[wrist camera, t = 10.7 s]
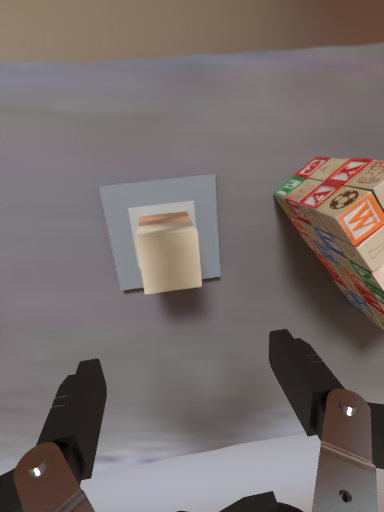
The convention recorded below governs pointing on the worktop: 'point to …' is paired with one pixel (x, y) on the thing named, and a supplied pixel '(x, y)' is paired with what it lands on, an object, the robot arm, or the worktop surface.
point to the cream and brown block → (168, 252)
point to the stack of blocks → (343, 224)
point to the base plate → (160, 202)
